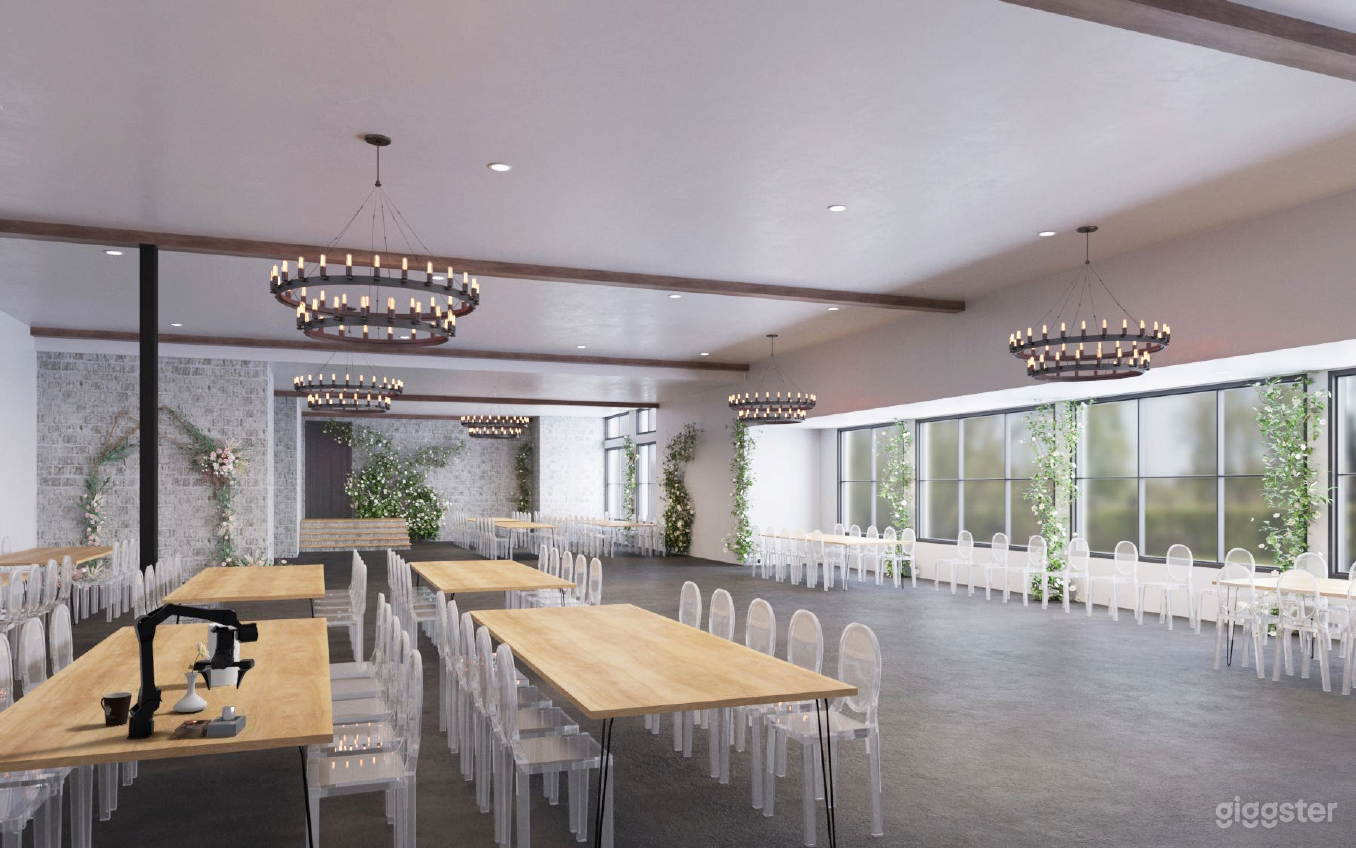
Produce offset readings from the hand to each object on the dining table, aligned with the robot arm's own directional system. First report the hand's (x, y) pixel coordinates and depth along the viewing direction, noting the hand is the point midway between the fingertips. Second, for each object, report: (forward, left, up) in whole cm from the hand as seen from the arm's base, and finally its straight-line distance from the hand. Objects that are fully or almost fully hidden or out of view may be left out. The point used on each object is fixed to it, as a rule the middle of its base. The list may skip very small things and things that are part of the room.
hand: (223, 689), depth 324 cm
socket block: (-6, -11, -12) cm, 17 cm away
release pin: (-6, -14, -11) cm, 19 cm away
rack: (+4, -11, -12) cm, 17 cm away
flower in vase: (-17, +24, -12) cm, 32 cm away
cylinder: (-20, +73, -12) cm, 77 cm away
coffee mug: (-37, +8, -12) cm, 40 cm away
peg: (+4, -10, -12) cm, 16 cm away
